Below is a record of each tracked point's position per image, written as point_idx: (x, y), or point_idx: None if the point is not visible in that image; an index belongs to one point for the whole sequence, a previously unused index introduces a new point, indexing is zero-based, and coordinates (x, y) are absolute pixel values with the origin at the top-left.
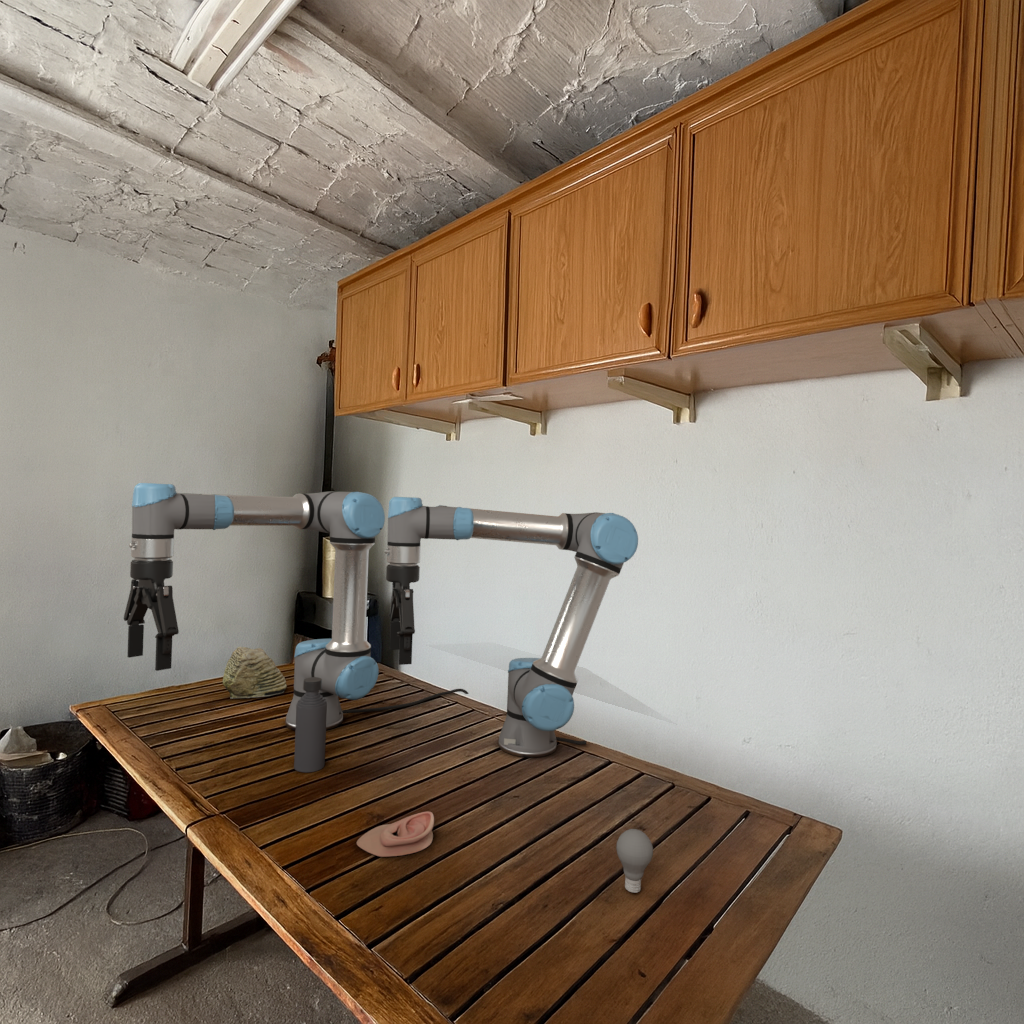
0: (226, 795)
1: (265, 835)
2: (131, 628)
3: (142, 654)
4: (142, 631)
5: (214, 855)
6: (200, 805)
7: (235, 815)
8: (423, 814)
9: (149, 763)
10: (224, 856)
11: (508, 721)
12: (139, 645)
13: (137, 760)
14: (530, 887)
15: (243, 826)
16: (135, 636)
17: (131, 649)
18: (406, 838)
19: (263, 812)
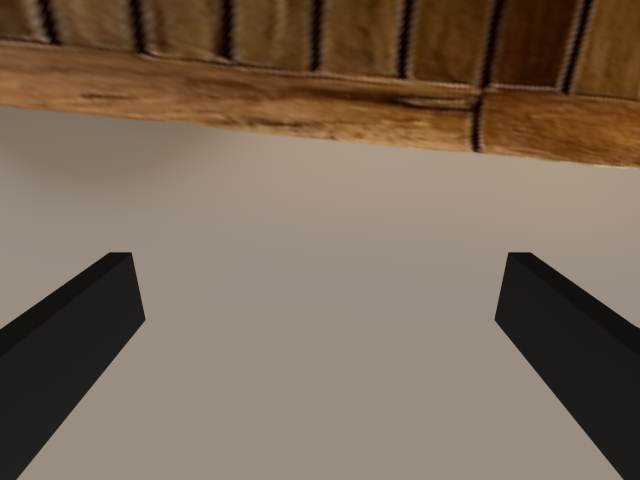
0: (426, 39)
1: (623, 70)
2: (8, 476)
3: (127, 256)
4: (12, 360)
5: (593, 165)
6: (424, 100)
7: (514, 71)
8: None
9: (154, 87)
10: (610, 155)
11: None
12: (97, 306)
13: (121, 100)
14: None
15: (561, 82)
16: (57, 380)
17: (120, 337)
18: None
19: (552, 21)
